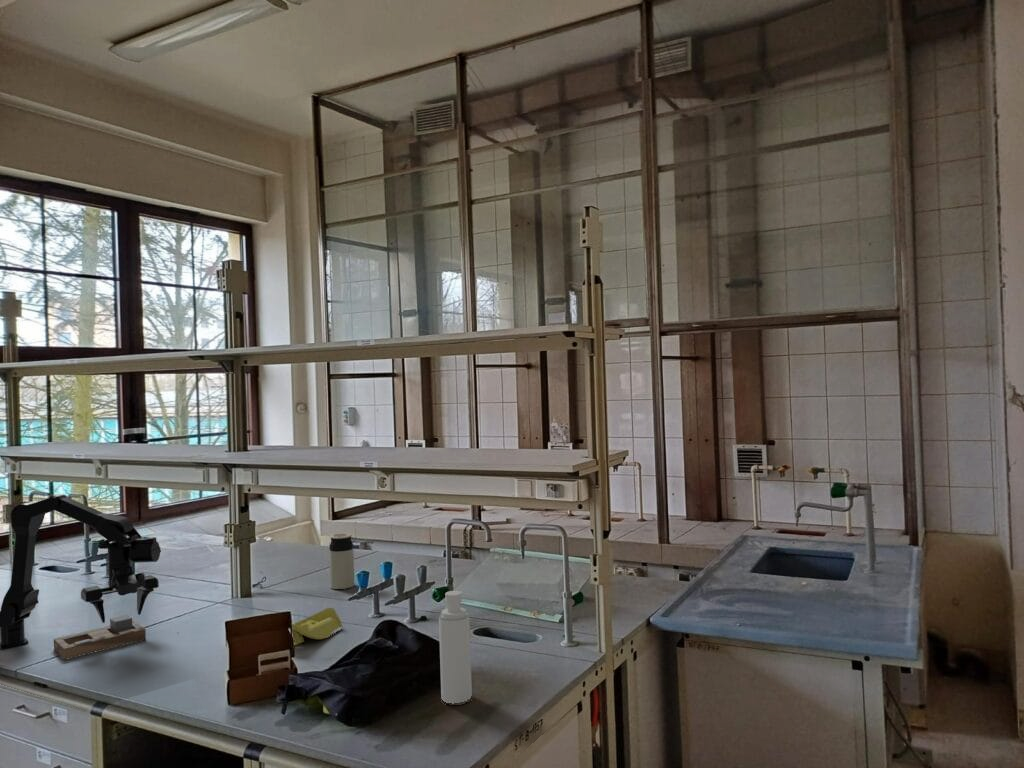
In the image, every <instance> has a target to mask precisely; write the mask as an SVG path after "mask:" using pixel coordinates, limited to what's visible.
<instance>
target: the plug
mask: <svg viewBox="0 0 1024 768" xmlns="http://www.w3.org/2000/svg"><path fill="white" fill-rule="evenodd" d="M132 621H133V617H131V616H130V615H127V614H125V615H120V616H116V617H112V618H110V619H109V624H110V625H109V626H110V632H111V633H112V634H115V633H118V632H120V631H124V630H128V629H132Z"/></svg>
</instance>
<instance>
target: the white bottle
mask: <svg viewBox="0 0 1024 768" xmlns="http://www.w3.org/2000/svg"><path fill="white" fill-rule="evenodd" d="M462 595H463V594H462V591H461V590H449V591H447V592H445V603H446V608H444V609H442V610H441V612H440V613H439V614H438V627H439V628H438V630H439V631H438V632H439V633H438V635H439V660H440V661H439V662H440V663H439V664H440V665H439V667H440V668H439V669H440V694H441V697H440V698H441V699H442V700H443V701H444V702H446V703H452V704H454V703H460V702H464V701H467V700H468V699H470V698H471V696H472V697H473V691H472V658H471V657H472V656H471V655H472V654H471V630H470V629H471V628H470V625H471V623H470V612H469V611H467V609H466V608H464V607H462V604H461V603H462V602H463V601H462V600H463V599H462V598H463V596H462ZM442 700H441V701H442Z"/></svg>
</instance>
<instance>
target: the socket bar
mask: <svg viewBox="0 0 1024 768" xmlns="http://www.w3.org/2000/svg"><path fill="white" fill-rule="evenodd" d="M146 631H147V630H146V628H145V627H144V626H142V625H140V624H139V623H138V622H135V621H134V620H132V629H128V630H124V631H120V632H118V633H115V634H112V633H111V632H110V625H107V626H104V627H99V628H94V629H90V630H86V631H81V632H77V633H72V634H70V635H69V634H68V635H65V636H61V637H57V638H53V650H54V652H55V653H57V654H58V655H59V656H60V657H61V656H62V657H63V658H64V659H66V660H68V659H67V658H70V659H72V658H71V657H74V658H76V657H75V656H78V657H80V656H79V655H82V656H84V655H83V654H86V655H89V654H88V653H90V654H92V653H91V652H94V653H96V652H95V651H98V652H100V651H99V650H102V651H104V650H103V649H106V650H108V649H107V648H110V649H112V648H111V647H114V648H116V647H115V646H118V647H121V646H120V645H122V646H124V645H123V644H126V645H128V644H127V643H130V644H132V643H131V642H134V643H136V642H135V641H138V642H141V641H140V640H142V641H144V640H143V639H146V638H147V637H146V633H147V632H146ZM62 657H61V658H62ZM63 658H62V659H63ZM64 659H63V660H64Z"/></svg>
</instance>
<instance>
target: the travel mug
mask: <svg viewBox="0 0 1024 768" xmlns="http://www.w3.org/2000/svg"><path fill="white" fill-rule="evenodd" d="M352 536H353V534H352V533H350V532H338V533H337V532H336V533H333V534H330V535H329V538H330V544H329V571H330V572H329V574H330V589H332V588H333V589H332V590H335V589H344V590H347V589H346V588H349V589H351V588H353V587H355V563H354V562H355V561H354V560H355V558H354V542H353V541H352ZM350 587H351V588H350Z"/></svg>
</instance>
